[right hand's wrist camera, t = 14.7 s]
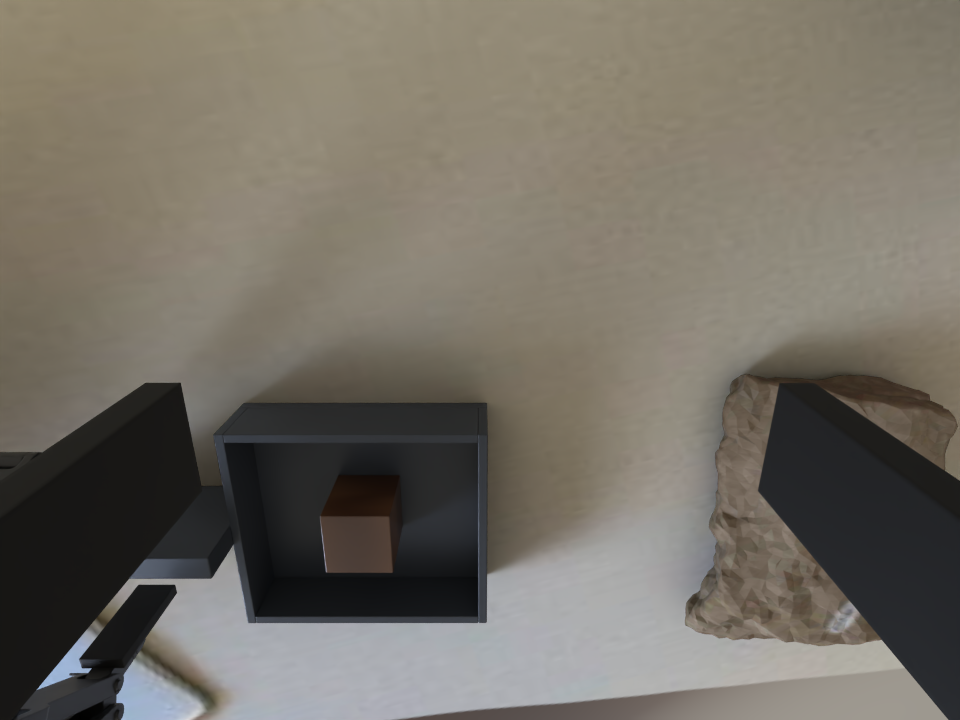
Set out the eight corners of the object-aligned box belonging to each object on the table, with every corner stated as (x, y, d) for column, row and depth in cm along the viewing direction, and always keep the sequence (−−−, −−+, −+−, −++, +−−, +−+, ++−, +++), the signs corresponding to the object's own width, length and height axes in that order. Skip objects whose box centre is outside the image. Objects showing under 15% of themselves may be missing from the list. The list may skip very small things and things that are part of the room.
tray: (486, 402, 39) (488, 461, 32) (485, 575, 44) (487, 661, 37) (102, 402, 39) (12, 461, 32) (146, 575, 44) (78, 661, 37)
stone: (882, 646, 42) (925, 707, 37) (678, 610, 46) (689, 661, 40) (939, 378, 39) (998, 399, 33) (712, 358, 42) (730, 374, 36)
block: (399, 474, 40) (389, 516, 36) (402, 526, 42) (393, 573, 37) (338, 474, 40) (319, 516, 36) (343, 526, 42) (325, 573, 37)
